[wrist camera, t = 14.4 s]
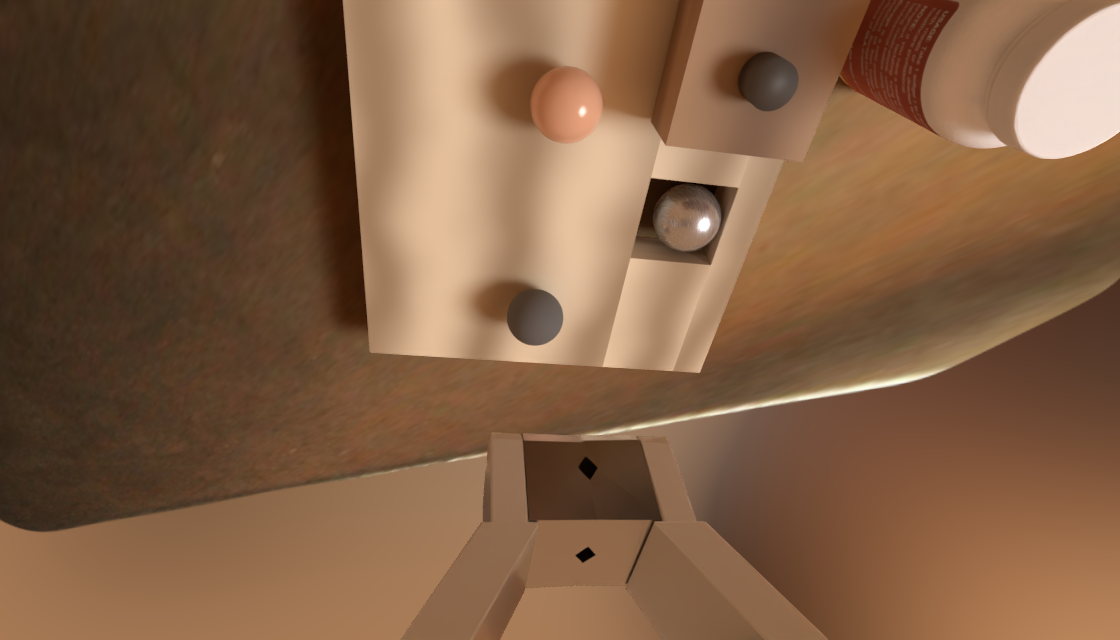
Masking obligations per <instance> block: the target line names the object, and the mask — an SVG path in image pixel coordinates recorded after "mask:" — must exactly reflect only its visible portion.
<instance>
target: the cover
mask: <svg viewBox="0 0 1120 640" xmlns="http://www.w3.org/2000/svg"><path fill="white" fill-rule="evenodd" d="M870 1H871V0H680V1H679V6H678V10H677V14H676V18H675V22H674V26H673V31H672V35H671V39H670V43H669V47H668V51H667V56H666V60H665V64H664V68H663V72H662V76H661V81H660V85H659V89H658V93H657V97H656V101H655V106H654V110H653V114H652V118H651V123H652V125H653V126H654V128H655V129H656V131H657V133H658V134H659V136H660V137H661V139H662V141H663V142H664V144H665V145H666V146H673V147H681V148H689V149H698V150H706V151H714V152H722V153H730V154H739V155H747V156H755V157H763V158H771V159H780V160H788V161H796V162H803V161H804V158H805V156H806V154H807V151H808V149H809V146H810V144H811V142H812V139H813V137H814V134H815V132H816V130H817V127H818V125H819V123H820V120H821V118H822V115H823V113H824V111H825V108H826V106H827V104H828V101H829V99H830V96H831V94H832V92H833V89H834V87H835V84H836V82H837V80H838V77H839V75H840V73H841V70H842V68H843V65H844V63H845V61H846V58H847V56H848V53H849V51H850V49H851V46H852V44H853V42H854V39H855V37H856V34H857V32H858V30H859V27H860V25H861V22H862V20H863V18H864V15H865V13H866V11H867V8H868V6H869V3H870Z"/></svg>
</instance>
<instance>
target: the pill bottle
mask: <svg viewBox="0 0 1120 640" xmlns="http://www.w3.org/2000/svg"><path fill="white" fill-rule="evenodd" d="M839 76H840V77H841V79H842V80H843V81H844V82H845V83H846V84H847V85H848V86H850V87H851V88H852V89H854V90H855V91H857V92H859V93H861V94H862V95H864V96H866V97H868V98H870V99H872V100H873V101H875V102H877V103H879V104H881V105H883V106H885V107H887V108H889V109H890V110H892V111H894V112H896V113H898V114H900V115H901V116H903V117H905V118H907V119H909V120H911V121H913V122H915V123H917V124H918V125H920V126H922V127H924V128H926V129H928V130H929V131H931V132H933V133H935V134H937V135H939V136H941V137H943V138H945V139H947V140H949V141H951V142H954V143H956V144H959V145H962V146H966V147H972V148H996V147H1002V146H1009V147H1012V148H1015V149H1017V150H1019V151H1022V152H1024V153H1026V154H1028V155H1031V156H1034V157H1037V158H1043V159H1059V158H1064V157H1069V156H1073V155H1076V154H1079V153H1082V152H1085V151H1087V150H1089V149H1091V148H1093V147H1096V146H1097V145H1099V144H1101V143H1103V142H1105V141H1107V140H1108V139H1110V138H1111V137H1113V136H1114V135H1116V134H1117V133H1118V132H1120V0H871V1H870V3H869V6H868V8H867V11H866V13H865V15H864V18H863V20H862V22H861V25H860V27H859V30H858V32H857V34H856V37H855V39H854V42H853V44H852V46H851V49H850V51H849V53H848V56H847V58H846V61H845V63H844V65H843V68H842V70H841V73H840V75H839Z"/></svg>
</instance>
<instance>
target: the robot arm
mask: <svg viewBox="0 0 1120 640" xmlns="http://www.w3.org/2000/svg"><path fill="white" fill-rule="evenodd" d="M574 585H576V586H578V585H579V586H583V585H585V586H590V585H591V586H596V585H597V586H600V585H601V586H627V587H626V589H627V591H628V592H629V594H630V595H631V596H632V598H633V599H634V601H635V602H636V603H637V605H638V606H639V607H640V609H641V610H642V612H643V613H644V614H645V616H646V617H647V619H648V620H649V621H650V623H651V624H652V626H653V627H654V628H655V630H656V631H657V632H658V634H659V635H660V637H661V638H662V639H663V640H828V639H827V638H826V637H825V636H824V635H823V634H822V633H821V632H820V631H819V630H818V629H817V628H816V627H815V626H814V625H813V624H812V623H811V622H810V621H808V619H806V618H805V617H804V616H803V615H802V614H801V613H800V612H799V611H798V610H797V609H796V608H795V607H794V606H793V605H792V604H791V603H790V602H789V601H788V600H787V599H786V598H785V597H783V596H782V595H781V594H780V593H779V592H778V591H777V590H776V589H775V588H774V587H773V586H772V585H771V584H770V583H769V582H768V581H767V580H766V579H765V578H764V577H763V576H762V575H761V574H760V573H758V572H757V571H756V570H755V569H754V568H753V567H752V566H751V565H750V564H749V563H748V562H747V561H746V560H745V559H744V558H743V557H742V556H741V555H740V554H739V553H737V551H735V550H734V549H733V548H732V547H731V546H730V545H729V544H728V543H727V542H726V541H725V540H724V539H723V538H722V537H721V536H720V535H719V534H718V533H717V532H716V531H715V530H714V529H713V528H712V527H710V526H709V525H708V524H707V523H706V522H705V521H696V518H695V515H694V512H693V509H692V506H691V504H690V500H689V498H688V495H687V492H686V489H685V486H684V483H683V480H682V477H681V474H680V471H679V468H678V465H677V462H676V459H675V456H674V453H673V451H672V447H671V445H670V442H669V441H668V440H667V438H666V437H644V436H643V437H642V436H637V437H635V436H602V435H579V436H565V435H544V434H524V433H522V434H516V433H491V434H490V436H489V444H488V453H487V462H486V470H485V482H484V496H483V522H481V524H480V525H479V527H478V528H477V530H476V531H475V533H474V534H473V535H472V537H471V538H470V540H469V541H468V542H467V544H466V545H465V547H464V548H463V550H462V551H461V553H460V554H459V556H458V557H457V558H456V560H455V561H454V563H453V564H452V566H451V567H450V569H449V570H448V571H447V573H446V574H445V576H444V577H443V579H442V580H441V582H440V583H439V584H438V586H437V587H436V589H435V590H434V592H433V593H432V595H431V596H430V598H429V599H428V600H427V602H426V604H425V605H424V606H423V608H422V609H421V611H420V612H419V614H418V615H417V616H416V618H415V619H414V621H413V622H412V624H411V625H410V627H409V628H408V629H407V631H406V632H405V634H404V635H403V637H402V638H401V640H500V639H501V637H502V635H503V633H504V631H505V629H506V627H507V625H508V623H509V621H510V619H511V617H512V615H513V613H514V611H515V609H516V607H517V605H518V603H519V601H520V599H521V597H522V595H523V593H524V591H525V588H538V587H556V586H574Z"/></svg>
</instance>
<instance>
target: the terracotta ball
mask: <svg viewBox="0 0 1120 640" xmlns="http://www.w3.org/2000/svg"><path fill="white" fill-rule="evenodd" d="M530 110H531V115H532V118H533V121H534V123H535V125H536V127H537V128H538V130H539V131H540V132H541V133H542V134H543V135H544V136H545V137H547V138H548V139H550V140H552V141H554V142H557V143H562V144H571V143H576V142H579V141H581V140H583V139H585V138H586V137H588V136H589V135H590V134H591V133H592V132H593V131H594V130H595V128H596V127H597V125H598V123H599V121H600V118H601V115H602V110H603V100H602V95H601V91H600V88H599V86H598V84H597V83H596V81H595V80H594V79H593V78H592V77H591V76H590V75H589V74H588V73H587V72H585V71H584V70H582V69H579V68H577V67H572V66H561V67H556V68H554V69H552V70H550V71H548V72H547V73H545V74H544V75H543V76H542V77H541V78H540V79H539V80H538V82H537V83H536V85H535V87H534V89H533V91H532V95H531V100H530Z"/></svg>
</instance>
